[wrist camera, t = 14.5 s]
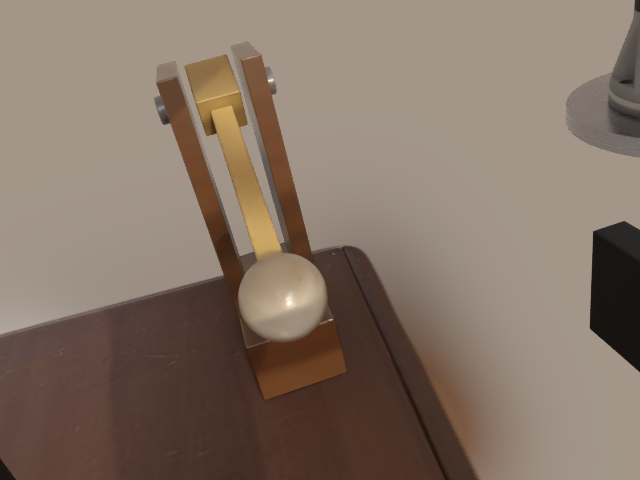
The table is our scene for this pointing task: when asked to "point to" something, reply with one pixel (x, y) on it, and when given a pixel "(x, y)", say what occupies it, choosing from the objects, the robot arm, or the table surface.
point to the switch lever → (257, 219)
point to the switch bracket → (258, 87)
